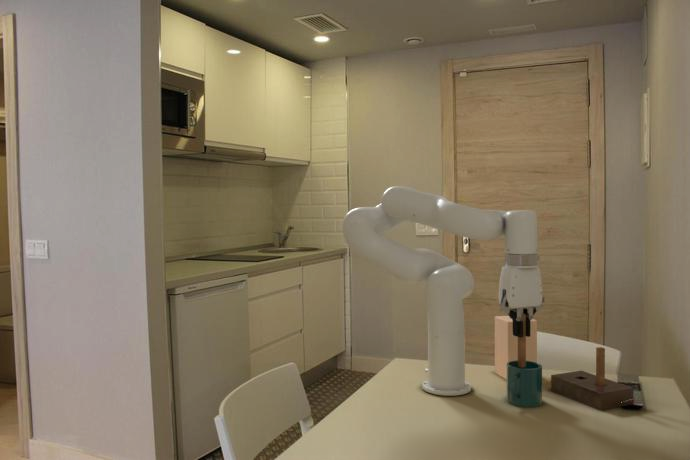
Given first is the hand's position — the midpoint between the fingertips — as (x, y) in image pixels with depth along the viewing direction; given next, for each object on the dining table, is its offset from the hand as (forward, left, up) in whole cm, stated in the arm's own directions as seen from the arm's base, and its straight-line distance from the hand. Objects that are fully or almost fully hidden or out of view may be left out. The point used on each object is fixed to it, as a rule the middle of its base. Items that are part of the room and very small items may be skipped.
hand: (521, 335), depth 141 cm
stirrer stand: (+5, +17, -16) cm, 24 cm away
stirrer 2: (+8, +17, -16) cm, 25 cm away
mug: (+2, -2, -16) cm, 16 cm away
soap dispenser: (-17, +14, -16) cm, 27 cm away
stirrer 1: (0, 0, -8) cm, 8 cm away
